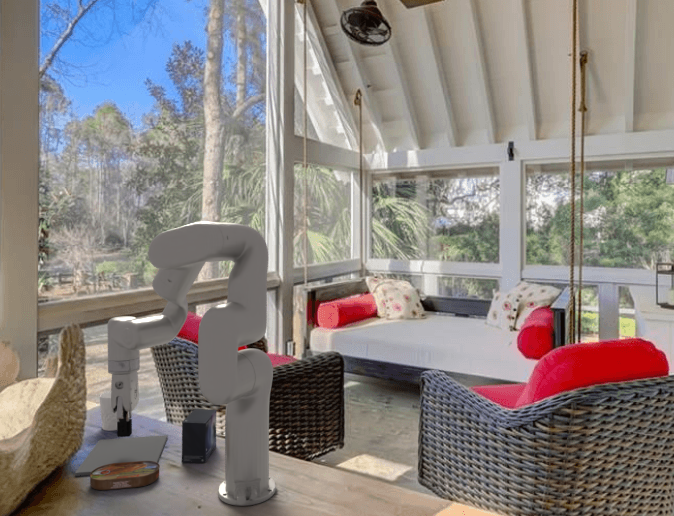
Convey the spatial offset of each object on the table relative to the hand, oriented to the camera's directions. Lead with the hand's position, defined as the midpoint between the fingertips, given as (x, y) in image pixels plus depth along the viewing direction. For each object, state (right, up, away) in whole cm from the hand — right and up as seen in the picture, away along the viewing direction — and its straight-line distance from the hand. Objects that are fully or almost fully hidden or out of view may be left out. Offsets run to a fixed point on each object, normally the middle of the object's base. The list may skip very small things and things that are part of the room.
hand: (124, 435), depth 126 cm
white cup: (-12, -5, +21) cm, 25 cm away
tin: (+5, -5, -9) cm, 11 cm away
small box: (+19, -6, +2) cm, 20 cm away
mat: (0, -6, +1) cm, 6 cm away
